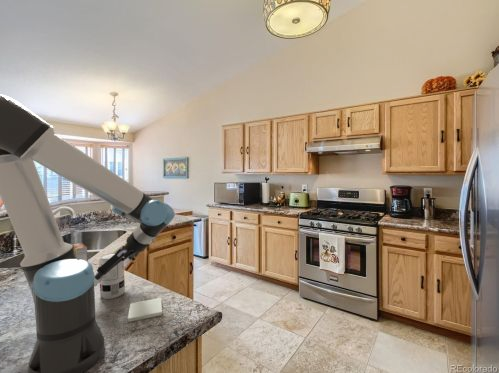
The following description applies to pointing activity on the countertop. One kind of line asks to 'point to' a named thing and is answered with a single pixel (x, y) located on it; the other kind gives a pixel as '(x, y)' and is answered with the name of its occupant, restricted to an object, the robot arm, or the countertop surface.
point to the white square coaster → (145, 309)
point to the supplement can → (112, 279)
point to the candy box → (80, 251)
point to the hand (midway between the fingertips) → (106, 275)
